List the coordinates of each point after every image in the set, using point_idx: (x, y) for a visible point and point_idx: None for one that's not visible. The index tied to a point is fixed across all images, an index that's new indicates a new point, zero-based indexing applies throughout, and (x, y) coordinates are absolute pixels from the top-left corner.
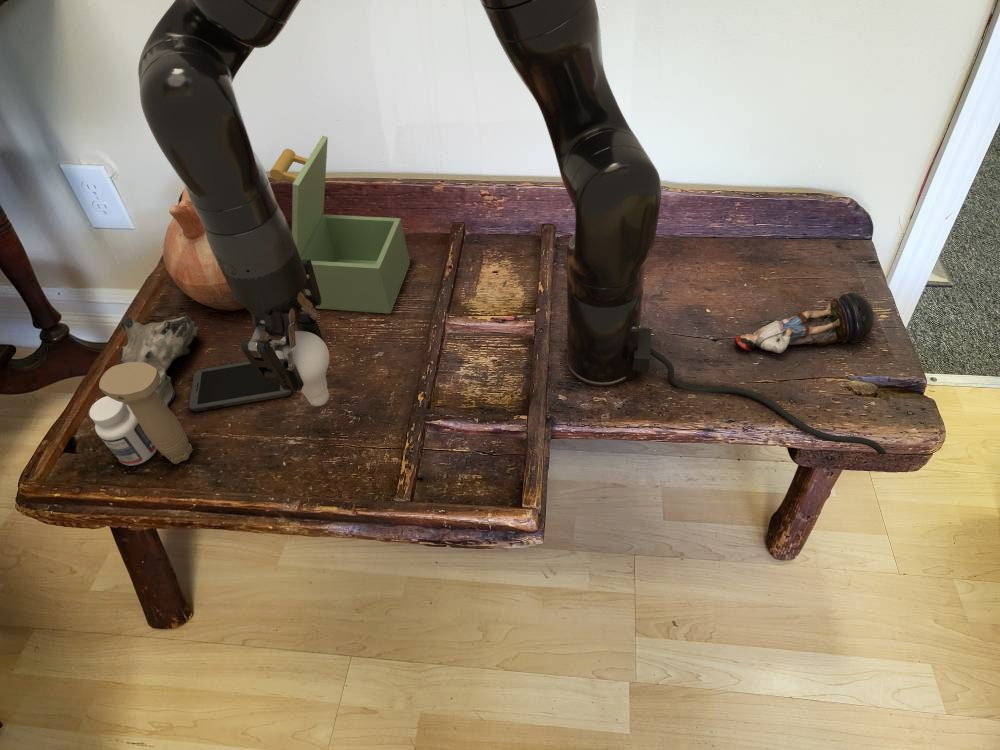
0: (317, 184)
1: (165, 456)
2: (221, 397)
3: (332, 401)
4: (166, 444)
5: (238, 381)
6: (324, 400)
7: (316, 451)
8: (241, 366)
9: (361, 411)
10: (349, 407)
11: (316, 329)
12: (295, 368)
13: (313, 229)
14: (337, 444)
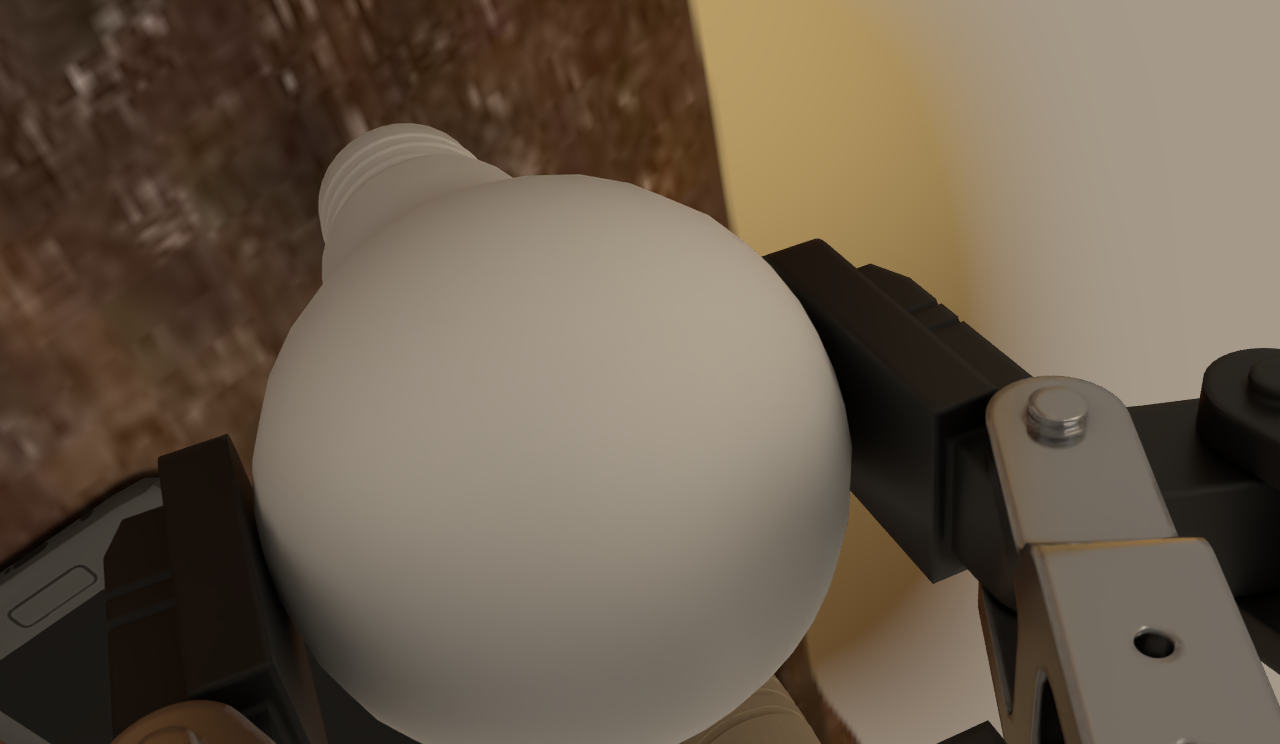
0: None
1: None
2: (361, 716)
3: (65, 234)
4: (781, 687)
5: None
6: (434, 136)
7: (445, 98)
8: None
9: (35, 2)
10: (49, 102)
11: (241, 597)
12: (932, 380)
13: None
14: (353, 6)
